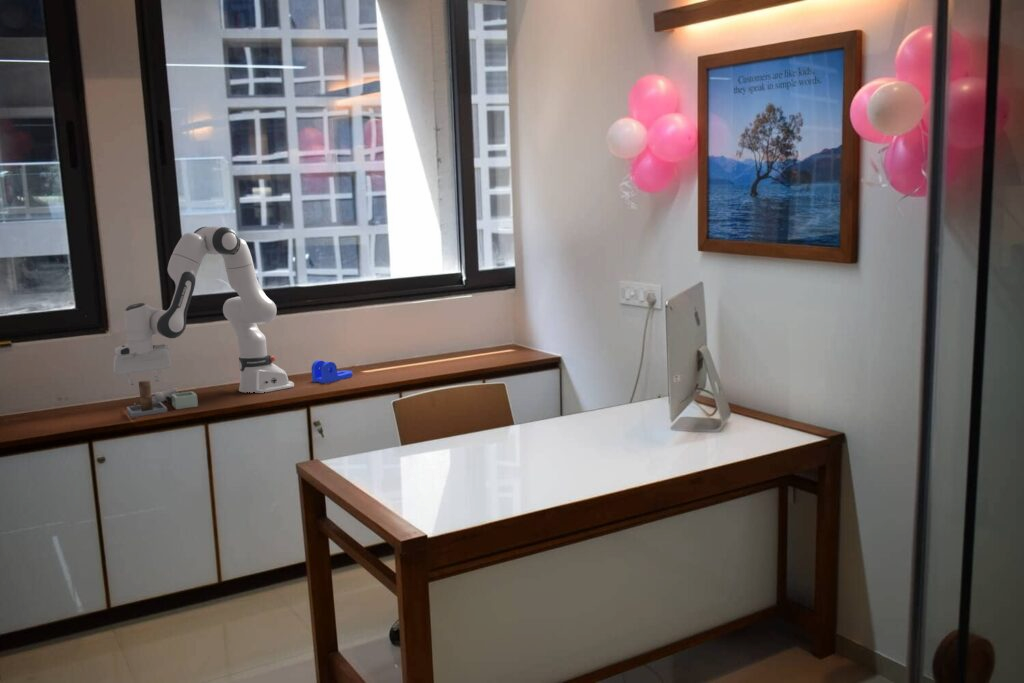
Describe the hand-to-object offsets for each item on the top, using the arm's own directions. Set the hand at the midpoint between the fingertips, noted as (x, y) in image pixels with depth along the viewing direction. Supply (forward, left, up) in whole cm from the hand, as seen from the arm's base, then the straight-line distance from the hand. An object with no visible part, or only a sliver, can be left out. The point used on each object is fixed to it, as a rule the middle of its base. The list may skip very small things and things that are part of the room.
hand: (144, 382), depth 351 cm
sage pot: (-14, 0, -12) cm, 18 cm away
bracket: (-80, -14, -12) cm, 82 cm away
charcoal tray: (0, 0, -12) cm, 12 cm away
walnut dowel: (0, 0, -11) cm, 11 cm away
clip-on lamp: (-7, -11, -12) cm, 18 cm away
